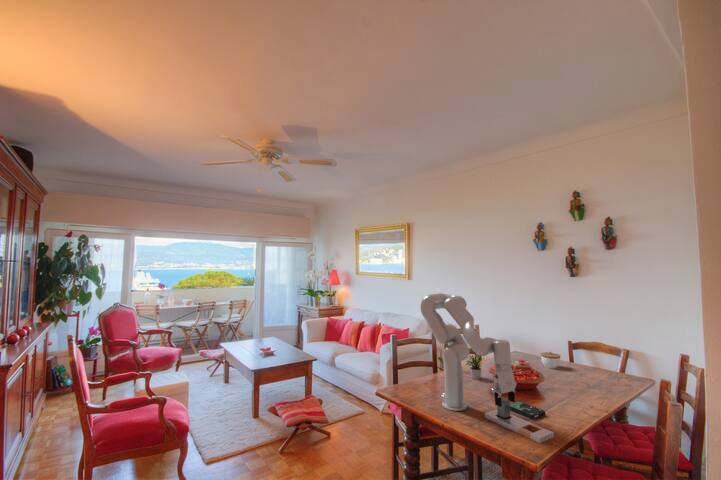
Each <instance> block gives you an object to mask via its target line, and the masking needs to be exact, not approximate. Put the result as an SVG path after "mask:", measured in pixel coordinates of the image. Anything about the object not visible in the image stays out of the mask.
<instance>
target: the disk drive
mask: <svg viewBox="0 0 721 480" xmlns="http://www.w3.org/2000/svg"><path fill="white" fill-rule="evenodd" d="M510 412H513V413H516V414H518V415H520V416H522V417H525V418H527V419H529V420H531V421H534V420H536V419H540V418H542V417H545V416H546V411H545V410H543V409H541V408H538V407H536V406H534V405H530V404H528V403H525V402H523V401H520V400H517V401H516V400H515V402H512V403H511V402H510Z"/></svg>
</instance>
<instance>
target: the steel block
mask: <svg viewBox="0 0 721 480" xmlns="http://www.w3.org/2000/svg"><path fill="white" fill-rule="evenodd" d="M500 398H501V401H502V407H500V406H497V405H496V406H497V408H496V409H497V416H498V417H499V418H502V419H504V420H507V419H509V418H510V414H511V411H510V404H511V401H510V400H509V399H508V398H506V397H504V396H500Z"/></svg>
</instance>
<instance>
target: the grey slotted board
mask: <svg viewBox="0 0 721 480" xmlns="http://www.w3.org/2000/svg"><path fill="white" fill-rule="evenodd" d="M484 418H485V419H487V420H489V421H492V422H494V423H496V424H498V425H499V426H502V427H504V428H506V429H509V430H510V431H512V432H515V433H518V434H519V435H521V436H524V437H526V438H528V439H530V440H531V441H535V442H537V443H538V444H542V443H543V442H546V441H548V439H549V440H550V439H553V438H555V435H554V432H553V431H551V430H549V429H546V428H545V427H542V426H539V425H538V424H534V423H532V422H530V421H527V420H525V419H523V418H521V417H518V416H516V415H513V414H511V413H510V418H509V419H507V420H504V419H502V418H499V417H498V416H497V408H496V409H494V410H490V411H487V412H484ZM530 430H531V431H530Z"/></svg>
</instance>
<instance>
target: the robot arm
mask: <svg viewBox="0 0 721 480" xmlns="http://www.w3.org/2000/svg"><path fill="white" fill-rule="evenodd" d="M419 307H420V312H421V315H422V317H423V318H424V321H426V324H427V325H428V327H429V329H430V331H431V333H432V334H433V336H434V338H435V340H436V341H437V343H438V344H440V345H445V344H447V346H446V347H445V348H444V349H443V351H442V361H443V368H444V370H443V371H444V392H442V393H441V395H440V397H441V398H443V401H442V402H441V404H442V407H443V408H444V409H446V410H448V411H455V412H462V411H464V410H467V408H468V404H467V403H466V402H465V397H464V395H465V394H464V390H465V389H464V370H463V366H462V361H464V360H465V361H466V360H467V359H468V358H469V357H470V356H469V355H470V349H471V350H472V351H473V352H474V353H475V354H477V356H478V355H479V357H485V356H487V355H490V354H493V361H494V366H493V367H494V371H493V386H492V387H490V391H491V393H492V395H493V397H494V404H495V406H500V407H502V401H501V397H502V394H507V396H508V398H507V399H509V400H510V403H511V402H512V403H513V402H516V396H515V395H516V390H517V384H518V383H517V381H516V380H515V375H514V370H513V368H512V360H511V359H512V358H511V345H510V344H511V343H510V342H509V340H508V339H507V340H506V339H496V338H492V337H483V338H482V337H480V335H479V334H478V332H477V330H476V329H475V325H474V322H475V318H474V316H473V315H472V314H471V312H469V310H468V309H467V301H466V299H465V298H464V297H463V296H460V295H454V294H447V293H433V294H431V293H430V294H428V295H426V296H424V297H423V298H422V300H421V302H420V306H419ZM440 309H444V310H446V311H447V312H448V314H449V315H450V316H451V318H452V319H453V320H454V321H455V323H456V324H457V325H458V326H459V327H460V330H461V332H460V330H459V329H458V328H457V327H456V325H453V324H449V323H447V324H446V322H445V321H444V319H443V317H442V316H441V314H440V313H439V312H438V311H437V310H440Z"/></svg>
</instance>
